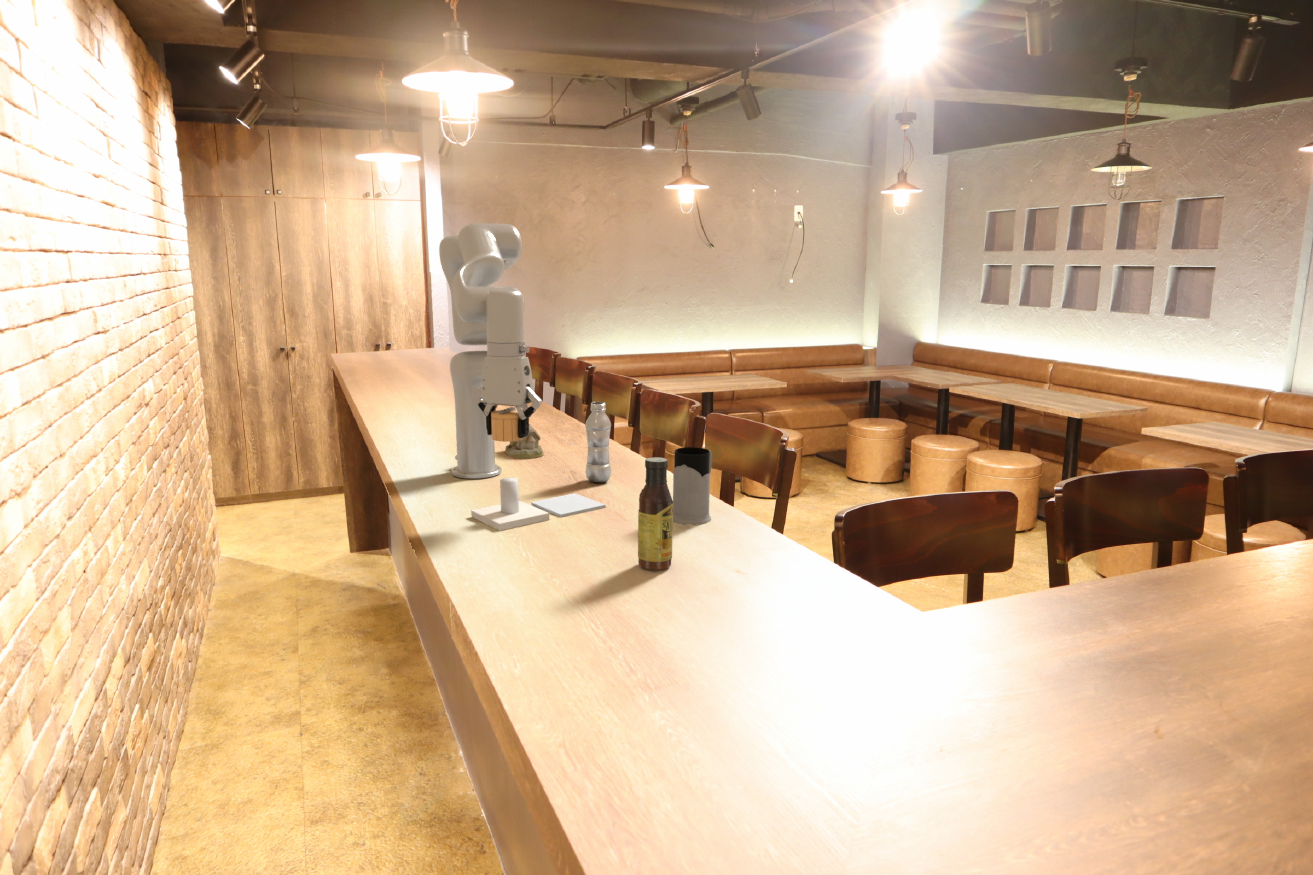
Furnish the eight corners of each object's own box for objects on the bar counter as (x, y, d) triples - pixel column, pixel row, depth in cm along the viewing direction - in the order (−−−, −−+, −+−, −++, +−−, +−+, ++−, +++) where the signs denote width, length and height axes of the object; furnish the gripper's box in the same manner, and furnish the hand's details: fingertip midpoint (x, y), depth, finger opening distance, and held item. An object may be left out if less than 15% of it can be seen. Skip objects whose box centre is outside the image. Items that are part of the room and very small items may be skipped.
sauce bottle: (668, 573, 147) (670, 465, 143) (634, 570, 148) (634, 462, 144) (675, 561, 153) (676, 456, 149) (642, 558, 154) (643, 454, 150)
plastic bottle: (613, 478, 211) (613, 401, 207) (609, 485, 204) (609, 405, 200) (588, 477, 212) (587, 400, 208) (583, 484, 205) (582, 405, 201)
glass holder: (663, 520, 177) (664, 452, 174) (691, 504, 189) (693, 440, 186) (700, 527, 173) (702, 457, 170) (727, 510, 185) (729, 444, 182)
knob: (502, 433, 178) (501, 405, 177) (529, 436, 176) (528, 407, 175) (485, 439, 172) (485, 410, 171) (513, 442, 170) (513, 413, 169)
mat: (531, 504, 188) (531, 502, 187) (575, 495, 195) (574, 493, 195) (560, 517, 179) (560, 514, 179) (605, 507, 186) (605, 504, 186)
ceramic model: (499, 450, 241) (498, 416, 239) (535, 446, 247) (534, 413, 245) (515, 460, 229) (515, 425, 227) (553, 456, 235) (553, 422, 233)
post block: (471, 516, 178) (470, 478, 176) (519, 506, 186) (519, 470, 184) (499, 530, 169) (498, 490, 167) (549, 519, 177) (548, 481, 175)
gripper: (552, 350, 171) (553, 435, 175) (478, 346, 176) (481, 428, 180) (534, 354, 164) (536, 442, 168) (459, 350, 169) (462, 435, 173)
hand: (507, 434), depth 174 cm, fingers closed on knob, 6 cm apart
